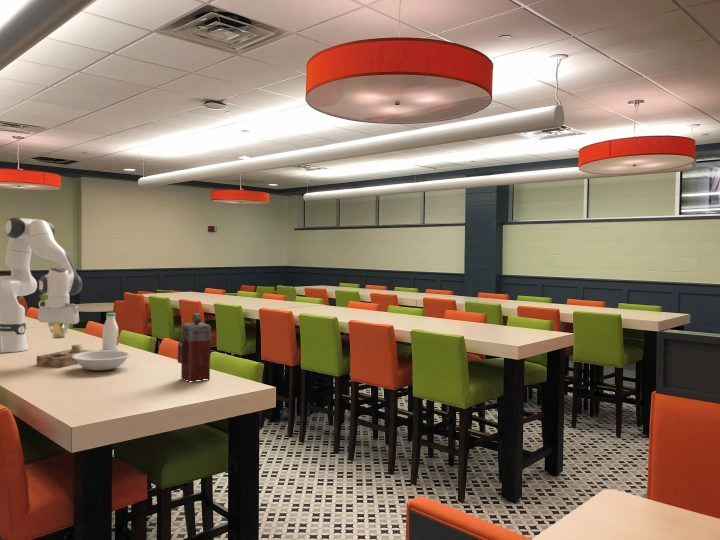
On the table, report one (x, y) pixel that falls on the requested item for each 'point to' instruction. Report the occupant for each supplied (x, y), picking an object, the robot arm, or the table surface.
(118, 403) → the table surface
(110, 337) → the milk bottle
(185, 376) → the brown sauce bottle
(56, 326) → the bushing
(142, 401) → the table surface
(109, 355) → the soup bowl
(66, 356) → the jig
